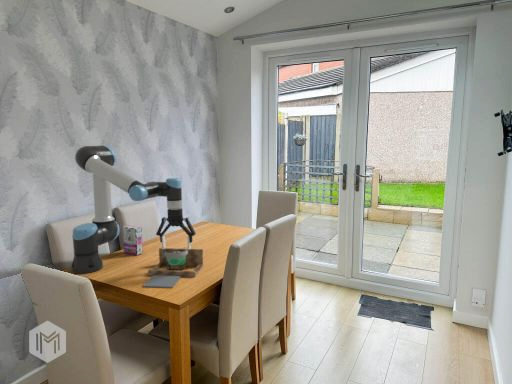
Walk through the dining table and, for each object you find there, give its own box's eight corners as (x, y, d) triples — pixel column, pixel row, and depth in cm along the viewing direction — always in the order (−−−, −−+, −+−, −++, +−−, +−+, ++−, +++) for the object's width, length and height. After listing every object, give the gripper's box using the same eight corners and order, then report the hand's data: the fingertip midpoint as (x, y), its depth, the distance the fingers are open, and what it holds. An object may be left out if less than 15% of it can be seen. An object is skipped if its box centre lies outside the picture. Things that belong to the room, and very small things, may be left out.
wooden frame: (148, 275, 180) (147, 258, 178) (160, 263, 197) (159, 248, 196) (195, 276, 178) (194, 259, 176) (203, 265, 195) (202, 249, 194)
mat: (142, 287, 165) (142, 285, 165) (153, 275, 179) (153, 274, 179) (172, 287, 164) (172, 286, 164) (181, 276, 178) (181, 275, 178)
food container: (164, 273, 183) (164, 254, 181) (164, 269, 189) (163, 251, 187) (189, 271, 186) (188, 252, 185) (188, 267, 192) (187, 249, 190)
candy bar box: (143, 253, 216) (142, 227, 213) (137, 255, 211) (135, 228, 209) (130, 250, 221) (128, 225, 218) (123, 253, 216) (122, 226, 214)
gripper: (148, 209, 180) (150, 250, 183) (196, 209, 178) (198, 250, 181) (153, 207, 188) (156, 246, 190) (200, 207, 185) (201, 246, 188)
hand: (176, 248), depth 186 cm, fingers open, 13 cm apart
